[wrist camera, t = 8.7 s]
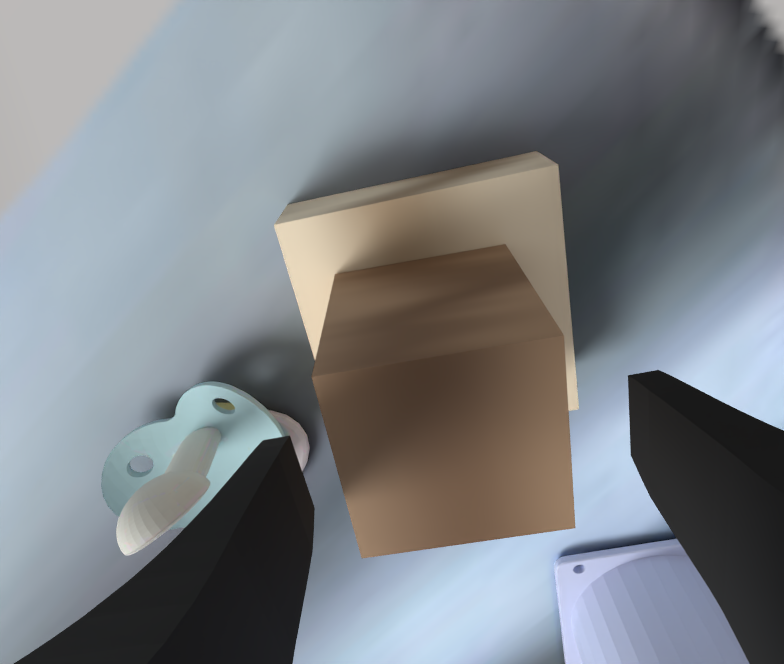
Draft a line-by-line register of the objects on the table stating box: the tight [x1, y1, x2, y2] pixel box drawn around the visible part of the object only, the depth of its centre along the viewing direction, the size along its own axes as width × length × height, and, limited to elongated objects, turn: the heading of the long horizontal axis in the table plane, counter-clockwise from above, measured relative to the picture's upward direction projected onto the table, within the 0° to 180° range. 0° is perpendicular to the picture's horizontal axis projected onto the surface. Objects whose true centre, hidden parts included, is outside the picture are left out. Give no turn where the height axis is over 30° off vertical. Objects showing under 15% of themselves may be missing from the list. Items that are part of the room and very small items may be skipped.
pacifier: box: [101, 381, 310, 555], centre depth 20 cm, size 7×6×6 cm
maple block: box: [274, 151, 579, 411], centre depth 19 cm, size 8×8×3 cm
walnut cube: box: [312, 244, 575, 558], centre depth 15 cm, size 5×5×6 cm
